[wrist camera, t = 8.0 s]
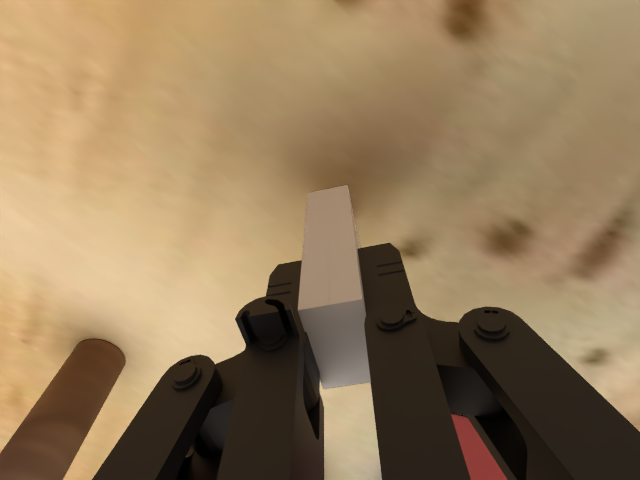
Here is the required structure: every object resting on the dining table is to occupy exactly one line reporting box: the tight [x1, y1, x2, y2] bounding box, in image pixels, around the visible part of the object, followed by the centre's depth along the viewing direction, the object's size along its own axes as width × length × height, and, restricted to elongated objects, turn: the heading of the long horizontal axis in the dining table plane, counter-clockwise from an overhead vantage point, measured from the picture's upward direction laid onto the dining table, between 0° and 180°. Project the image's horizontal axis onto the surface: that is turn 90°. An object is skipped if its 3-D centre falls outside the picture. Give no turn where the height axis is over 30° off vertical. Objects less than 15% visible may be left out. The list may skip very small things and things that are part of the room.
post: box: [0, 339, 125, 480], centre depth 18 cm, size 3×3×9 cm
